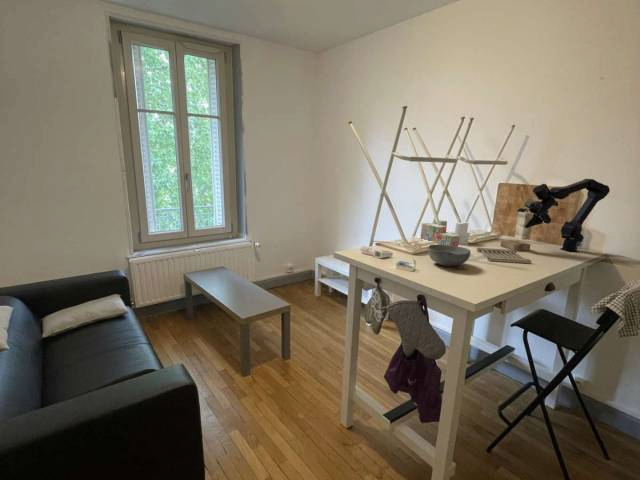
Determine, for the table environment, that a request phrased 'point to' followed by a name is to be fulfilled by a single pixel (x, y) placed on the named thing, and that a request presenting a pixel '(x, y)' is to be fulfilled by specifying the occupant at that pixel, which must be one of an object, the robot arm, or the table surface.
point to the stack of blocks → (438, 234)
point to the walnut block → (515, 245)
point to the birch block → (523, 225)
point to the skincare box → (441, 222)
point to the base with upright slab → (462, 232)
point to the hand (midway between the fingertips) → (521, 226)
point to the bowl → (448, 254)
